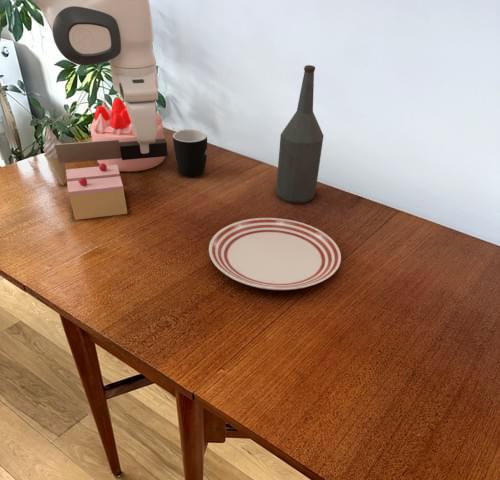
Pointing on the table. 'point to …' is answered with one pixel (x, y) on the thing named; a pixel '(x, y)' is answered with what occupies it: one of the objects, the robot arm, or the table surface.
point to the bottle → (300, 148)
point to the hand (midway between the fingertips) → (143, 148)
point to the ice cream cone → (53, 155)
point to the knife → (108, 150)
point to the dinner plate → (274, 253)
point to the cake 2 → (121, 134)
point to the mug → (190, 152)
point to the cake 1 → (96, 191)
